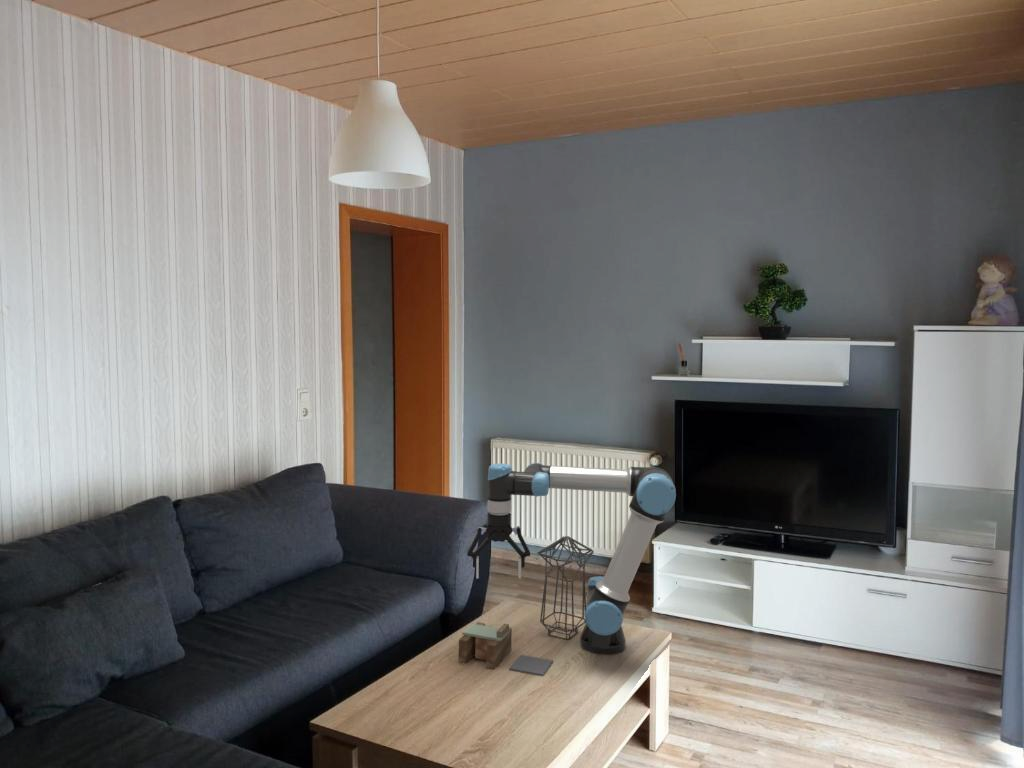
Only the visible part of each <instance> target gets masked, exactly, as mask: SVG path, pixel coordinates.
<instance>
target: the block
mask: <svg viewBox="0 0 1024 768" xmlns="http://www.w3.org/2000/svg"><path fill="white" fill-rule="evenodd" d="M490 641H491V640H490V639H484V638H479V637H476V645H475V655H474V658H475V659H478V660H479V659H480V660H485V661H487V644H488V643H489V642H490Z"/></svg>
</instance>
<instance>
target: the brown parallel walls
mask: <svg viewBox="0 0 1024 768" xmlns="http://www.w3.org/2000/svg"><path fill="white" fill-rule="evenodd" d="M475 624H478V625H483V626H486V624H485V623H484V622H480V621H479V622H476V623H475ZM512 630H513V628H512V627H510V626H509V633H508V634H507V635H506V636H505V637H504V638H503V639H502V640H501V641H496V640H491V641H490V642H489V643H488V644H487V660H486V669H489V668H490V669H491V670H495V669H496V668H497V667H498V666H499V664H500V663H501V662H502V661H503V660H504V659H505V658H506V656H508V654H509V653H510V652H511V651H512V637H513V636H512V633H513V631H512ZM475 645H476V637H473V636H467V635H462V636H461V637H460V638H459V639H458V654H457V655H458V656H457V657H458V660H457V661H458V662H457V663H459V664H462V663H464V665H466V664H468V662H469V661H470V660H471V659H472V658H473V657H475ZM495 667H496V668H495Z"/></svg>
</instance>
